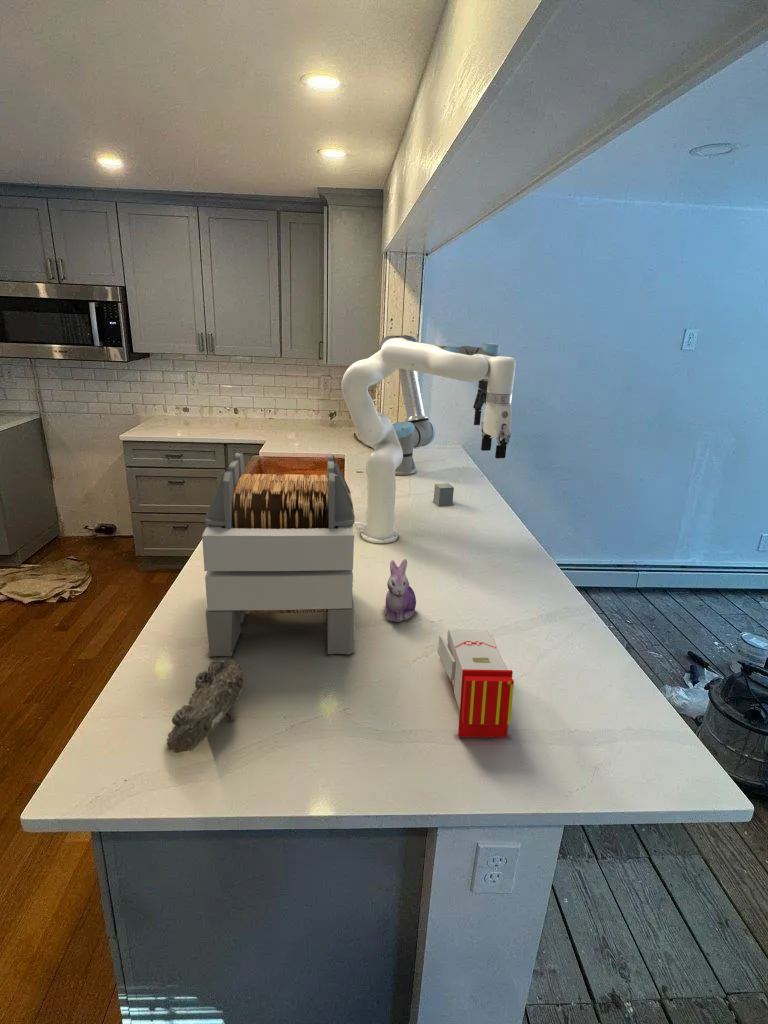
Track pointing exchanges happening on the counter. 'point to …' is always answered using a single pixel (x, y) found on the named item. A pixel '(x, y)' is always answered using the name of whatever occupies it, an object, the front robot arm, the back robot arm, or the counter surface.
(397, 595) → the figurine
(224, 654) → the record crate stand
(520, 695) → the counter surface
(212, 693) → the fossil
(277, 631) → the counter surface
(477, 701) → the toy
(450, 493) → the brick
